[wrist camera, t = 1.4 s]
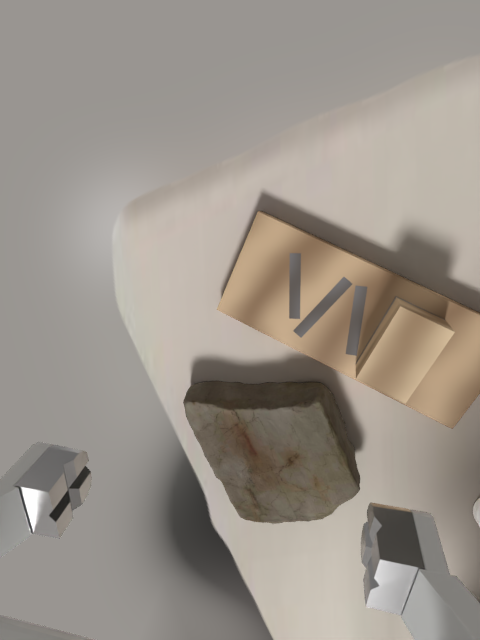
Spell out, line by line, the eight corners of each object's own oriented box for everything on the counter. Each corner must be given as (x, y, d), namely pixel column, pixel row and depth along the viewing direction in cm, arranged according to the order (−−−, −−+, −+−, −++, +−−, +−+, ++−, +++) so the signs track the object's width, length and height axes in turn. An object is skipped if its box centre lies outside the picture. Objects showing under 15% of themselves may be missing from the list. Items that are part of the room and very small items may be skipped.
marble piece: (189, 383, 44) (173, 401, 40) (316, 346, 39) (312, 362, 35) (245, 508, 47) (236, 536, 43) (371, 489, 42) (373, 518, 38)
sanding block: (445, 319, 33) (454, 332, 30) (400, 385, 36) (405, 403, 32) (395, 296, 34) (400, 306, 30) (355, 362, 36) (355, 378, 33)
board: (516, 330, 33) (524, 335, 32) (448, 420, 37) (452, 429, 36) (261, 210, 36) (257, 211, 35) (221, 305, 40) (216, 309, 38)
